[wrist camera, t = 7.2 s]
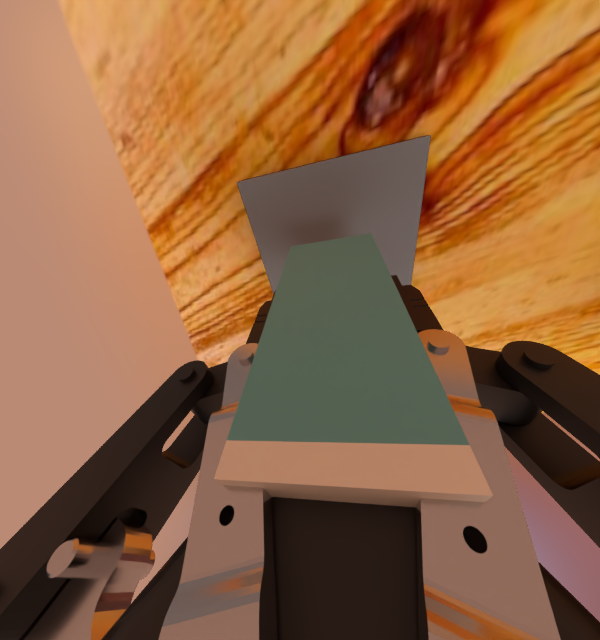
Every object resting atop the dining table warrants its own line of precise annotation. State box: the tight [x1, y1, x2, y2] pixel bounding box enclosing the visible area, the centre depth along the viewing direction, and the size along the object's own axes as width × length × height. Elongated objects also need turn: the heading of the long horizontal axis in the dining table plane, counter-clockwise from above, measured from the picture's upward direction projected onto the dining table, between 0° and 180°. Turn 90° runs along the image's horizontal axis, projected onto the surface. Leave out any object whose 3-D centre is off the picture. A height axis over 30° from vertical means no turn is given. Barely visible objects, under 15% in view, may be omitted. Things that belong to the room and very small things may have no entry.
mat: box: [237, 135, 431, 294], centre depth 18 cm, size 12×14×1 cm
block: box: [214, 233, 493, 507], centre depth 8 cm, size 4×4×10 cm
